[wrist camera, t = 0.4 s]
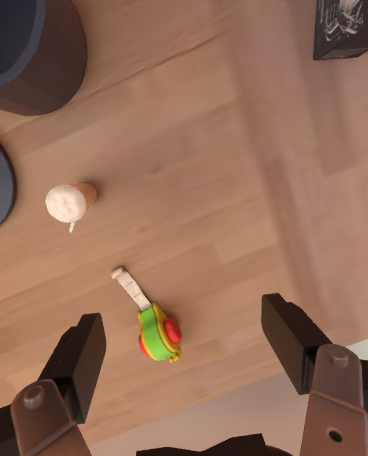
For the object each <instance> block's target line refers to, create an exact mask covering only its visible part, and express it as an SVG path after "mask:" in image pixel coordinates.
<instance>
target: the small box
mask: <svg viewBox="0 0 368 456" xmlns="http://www.w3.org/2000/svg"><path fill="white" fill-rule="evenodd" d="M367 51H368V0H318V2H317V15H316V30H315V43H314V56H313V59H314V60H325V59H339V58H352V57H359V56H361V55H362V54H363V53H365V52H367Z"/></svg>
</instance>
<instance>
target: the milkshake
mask: <svg viewBox="0 0 368 456" xmlns="http://www.w3.org/2000/svg"><path fill="white" fill-rule="evenodd" d="M97 195H98V194H97V191H96V188H95V187H93V186H92V185H91V184H89V183H78V184H63V185H58V186H56V187H54V188H52V189H51V190H50V191H49V193H48V194H47V197H46V206H47V209H48V211H49V213H50V214H51V215H52V216H53V217H54V218H56V219H57V220H59V221H61V222H71V226H70V229H69V233H71V232H73V228H74V224H75V221H77V220H79V219H80V218H81V217H82V216H83V215H84V214H85V212H86V211H87V210H88V209H89V208H90V206H91V205H92V204H93V203H94V202H95V201H96V198H97Z"/></svg>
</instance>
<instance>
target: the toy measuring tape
mask: <svg viewBox="0 0 368 456" xmlns="http://www.w3.org/2000/svg"><path fill="white" fill-rule="evenodd" d="M110 275H111V277H112V278H113V279H117V280H118V281H119V283H120V284H121V285H122V287H123V288H124V289H125V290H126V291H127V292H128V293H129V294H130V296H131V297H132V298H133V299H134V301H135V302H136V303H137V304H138V306H139V307H140V308H141V310H140V311H138V313H137V316H138V319H139V322H140V327H141V334H140V336H139V345H140V348H141V350H142V352H143V353H144V354H145V355H146V356H151V358H153V359H154V360H159V361H161V360H163V359H165V358H167V357H169V361H170V362H171V363H172V362H173V361H176V360H178V359H180V357H181V354H182V352H181V349H180V347H179V346H178V342H179V341H180V340H181V332H180V329H179V327H178V324H177V323H176V321H175V320H174V319H172V318H167V317H166V315H165V314H164V313H163V311H162V310H161V308H160V307H159V306H158V304H157V303H156V302H154V303H152V304H151V303H150V302H149V301H148V300H147V298H146V297H145V295H144V294H143V292H142V291H141V289H140V287H139V286H138V285H137V283H136V282H135V280H134V279H133V278H132V277H131V276H130V275H129V273H128V272H127V271H125V270H124V268H123V267H122V266H121V267H119V268H118V269H116V270H114V271H112V272H111V273H110Z"/></svg>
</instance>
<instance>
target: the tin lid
mask: <svg viewBox="0 0 368 456" xmlns="http://www.w3.org/2000/svg"><path fill="white" fill-rule="evenodd" d="M14 196H15V182H14V176H13V172H12V169H11V166H10V163H9V161H8V159H7V157H6V155H5V154H4V152H3V151H2V149H1V148H0V224H1V223H2V222H3V221H4V220H5V218H6V217H7V216H8V214H9V212H10V210H11V208H12V205H13V202H14Z"/></svg>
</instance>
